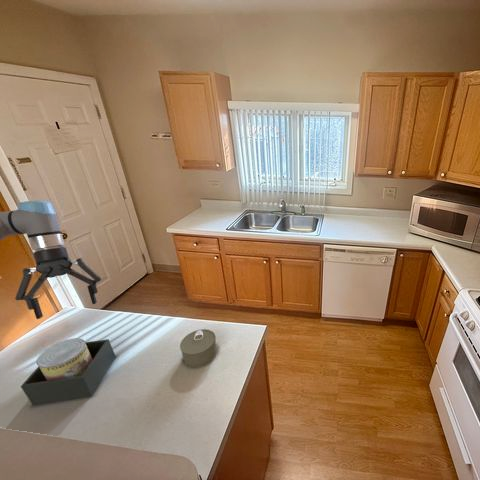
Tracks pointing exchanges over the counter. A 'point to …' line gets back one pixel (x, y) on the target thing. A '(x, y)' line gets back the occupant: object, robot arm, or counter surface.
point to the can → (199, 348)
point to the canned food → (65, 359)
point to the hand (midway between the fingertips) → (68, 310)
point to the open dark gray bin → (71, 378)
